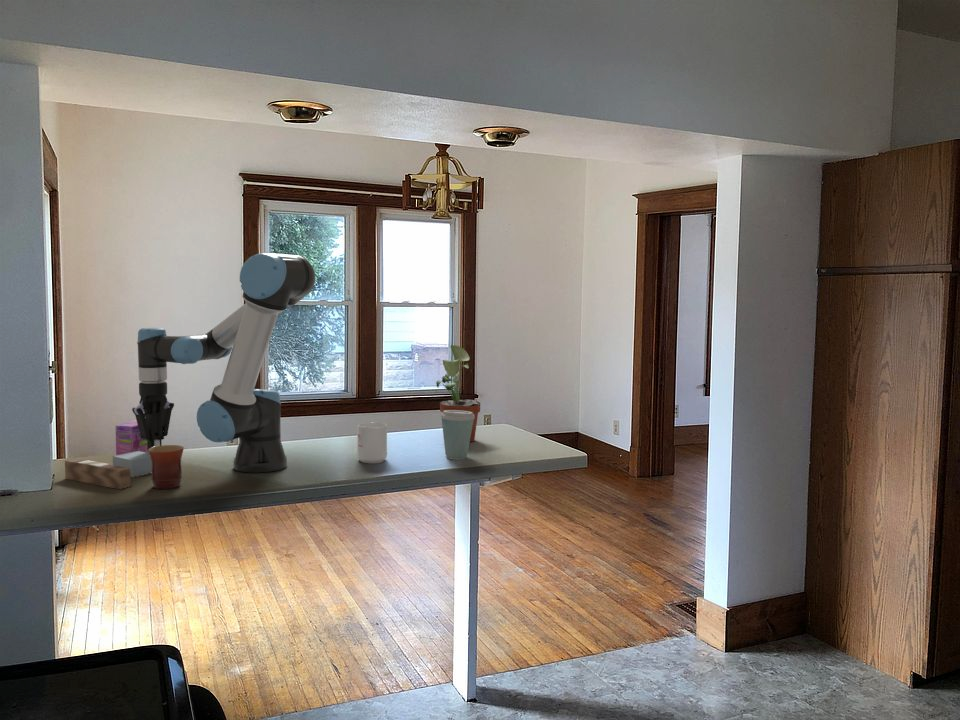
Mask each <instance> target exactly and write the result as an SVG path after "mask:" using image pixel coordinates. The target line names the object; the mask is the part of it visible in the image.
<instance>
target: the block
mask: <svg viewBox="0 0 960 720" xmlns="http://www.w3.org/2000/svg"><path fill="white" fill-rule="evenodd" d="M112 465H115V466H121V467H126V468H130V476H131V477H130V478H135V477H134V476H136V477H139V476H138V475H141V476H143V475H142V474H145V475H147V474H146V473H150V474H152V473H151V472H152V462H151V457H150V454H149V453H145V452H140V451H136V452H131V453H126V454H121V455H116V454H115V455H112Z"/></svg>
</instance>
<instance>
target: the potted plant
mask: <svg viewBox="0 0 960 720" xmlns="http://www.w3.org/2000/svg"><path fill="white" fill-rule="evenodd" d="M450 349H451V351H452V354H453V356H454V357H453V358H454V360H449V359H448V360H447V359H443V360H442V364H443V367H444V371H445V372H446V373H445V375H443V376H442V377H441V380H439V379H438V380H437V381H436V382H435V384H436V387H437V388H438V389H439V386H440V384H442V385H443V387H444V388H445V389H446V390H447V391H448V393H449V394H450V396H451V400H449V399H448V400H443V401H440V402H439V408H440V409H439V411H440V412H441V413H443V411H444V410H461V411H469V412H472V413H473V414H474V416H475V418H474V420H473V426H472V431H471V437H470V442H469V443H471V442H475V440H476V430H477V424H478V418H479V413H480V412H481V402H480V401H477V400H474V399H460V391H459V389H460V388H459V387H460V380H461V375H462V369H463V367H464V368H465V369H469V368H470V366H469V362H468V361H470V359H471V357H470V355H469V354H468V352H467V350H465V349H464V348H463V347H461V346H459V345H456V344H455V345H452V344H451V345H450ZM460 362H466V363H465V364H464V363H460ZM450 377H452V378H450ZM451 382H452V383H451Z"/></svg>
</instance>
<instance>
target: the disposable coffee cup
mask: <svg viewBox="0 0 960 720" xmlns="http://www.w3.org/2000/svg"><path fill="white" fill-rule="evenodd" d="M441 413H442V412H441ZM440 418H441V425H442V433H443V443H444V451H445V456H446V458H447V459H449V460H455V461H457V460H458V461H459V460H465V459H466V458H467V456H468V454H469V453H468V452H469V447H470V443H471V442H470V437H471V431H472V426H473V420H474V418H475V416H474V414H473V413H472V412H469V411H461V410H444V411H443V413H442V414H440Z"/></svg>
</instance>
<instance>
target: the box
mask: <svg viewBox="0 0 960 720" xmlns="http://www.w3.org/2000/svg"><path fill="white" fill-rule="evenodd" d="M147 447H148V446H147V440H145V439H141V436H140V432H139V428H138V424H137V420H136V419H134V420H131V421H128V422H127V421H126V422H123V423H120V424H117V425H115V456H116V455H121V454H126V453H131V452H136V451H140V452H145V453H149V452H148V448H147Z"/></svg>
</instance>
